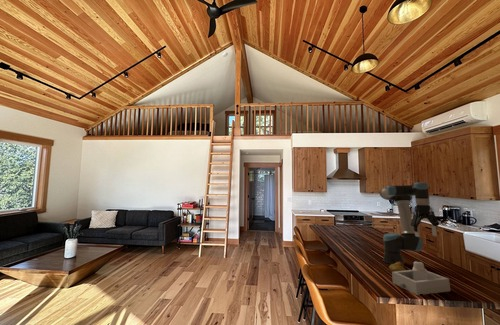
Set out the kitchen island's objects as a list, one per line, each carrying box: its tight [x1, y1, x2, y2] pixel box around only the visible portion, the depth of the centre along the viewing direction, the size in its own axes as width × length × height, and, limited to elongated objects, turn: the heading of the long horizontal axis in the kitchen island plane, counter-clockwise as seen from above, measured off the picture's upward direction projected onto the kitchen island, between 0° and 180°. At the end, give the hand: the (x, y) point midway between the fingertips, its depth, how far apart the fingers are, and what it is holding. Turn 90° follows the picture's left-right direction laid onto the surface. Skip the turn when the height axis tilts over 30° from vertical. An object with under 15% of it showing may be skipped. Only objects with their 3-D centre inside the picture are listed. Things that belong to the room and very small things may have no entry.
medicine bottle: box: [411, 260, 428, 281], centre depth 136 cm, size 7×7×12 cm
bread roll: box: [388, 262, 406, 273], centre depth 155 cm, size 13×10×8 cm
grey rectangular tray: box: [391, 269, 451, 296], centre depth 135 cm, size 17×26×7 cm, turn 100°
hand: (426, 236), depth 146 cm, fingers open, 13 cm apart
